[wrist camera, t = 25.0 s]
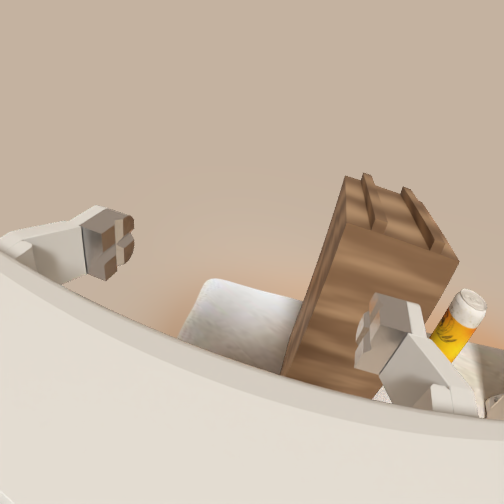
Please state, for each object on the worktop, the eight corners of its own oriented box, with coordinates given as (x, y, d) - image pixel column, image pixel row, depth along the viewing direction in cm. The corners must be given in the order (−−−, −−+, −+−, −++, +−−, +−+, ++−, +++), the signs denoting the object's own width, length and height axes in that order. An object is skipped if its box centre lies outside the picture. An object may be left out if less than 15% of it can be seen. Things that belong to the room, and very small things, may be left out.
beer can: (414, 350, 50) (455, 282, 42) (441, 358, 49) (484, 294, 41) (415, 373, 45) (462, 304, 37) (443, 382, 44) (492, 316, 36)
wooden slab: (343, 433, 34) (464, 251, 21) (268, 413, 36) (350, 210, 22) (349, 353, 47) (424, 194, 34) (290, 336, 49) (347, 167, 35)
